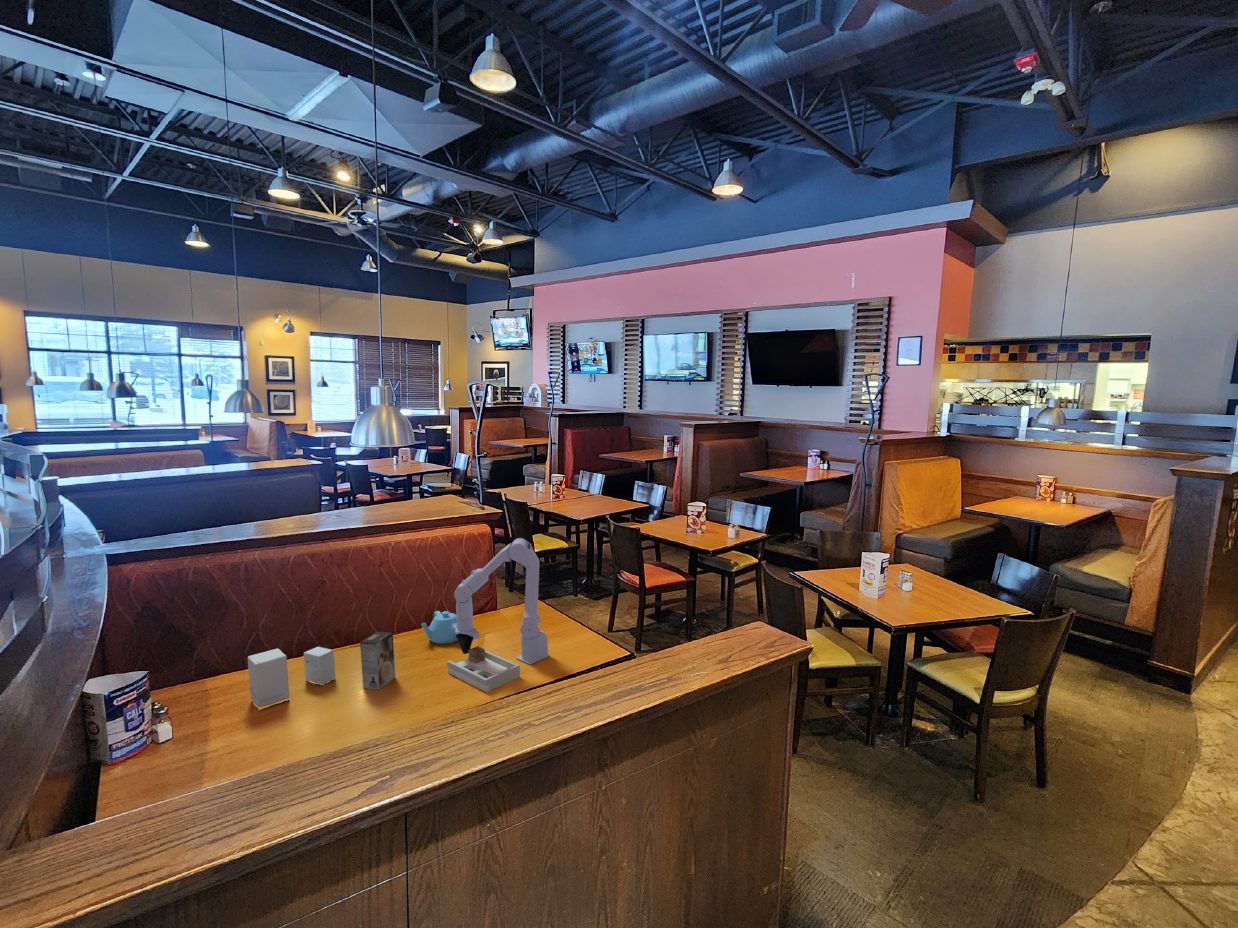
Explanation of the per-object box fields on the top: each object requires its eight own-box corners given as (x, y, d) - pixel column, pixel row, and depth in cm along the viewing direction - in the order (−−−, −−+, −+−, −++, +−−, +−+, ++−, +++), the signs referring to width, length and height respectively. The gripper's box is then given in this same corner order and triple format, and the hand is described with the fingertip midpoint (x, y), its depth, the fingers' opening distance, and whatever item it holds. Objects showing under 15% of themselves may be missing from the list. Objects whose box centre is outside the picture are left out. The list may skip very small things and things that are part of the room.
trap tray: (481, 658, 211) (480, 648, 211) (519, 676, 197) (519, 665, 196) (447, 672, 200) (447, 661, 200) (486, 692, 186) (485, 680, 186)
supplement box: (290, 701, 182) (287, 655, 180) (258, 711, 176) (254, 664, 174) (282, 691, 188) (278, 647, 187) (250, 701, 182) (246, 655, 180)
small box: (336, 679, 196) (334, 649, 195) (321, 686, 191) (319, 656, 190) (319, 675, 200) (317, 645, 198) (305, 682, 194) (303, 652, 193)
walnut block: (478, 656, 208) (477, 645, 208) (484, 659, 206) (484, 648, 205) (468, 660, 205) (468, 649, 205) (475, 663, 203) (475, 652, 202)
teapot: (471, 630, 238) (470, 605, 237) (460, 645, 223) (459, 618, 222) (434, 630, 238) (433, 605, 237) (421, 645, 224) (419, 618, 222)
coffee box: (379, 675, 198) (376, 630, 197) (395, 677, 197) (393, 632, 196) (362, 688, 189) (359, 641, 188) (379, 690, 188) (377, 642, 187)
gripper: (443, 615, 210) (445, 650, 211) (467, 624, 200) (468, 662, 202) (460, 609, 215) (461, 644, 216) (483, 618, 206) (485, 655, 207)
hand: (466, 652), depth 209 cm, fingers closed
